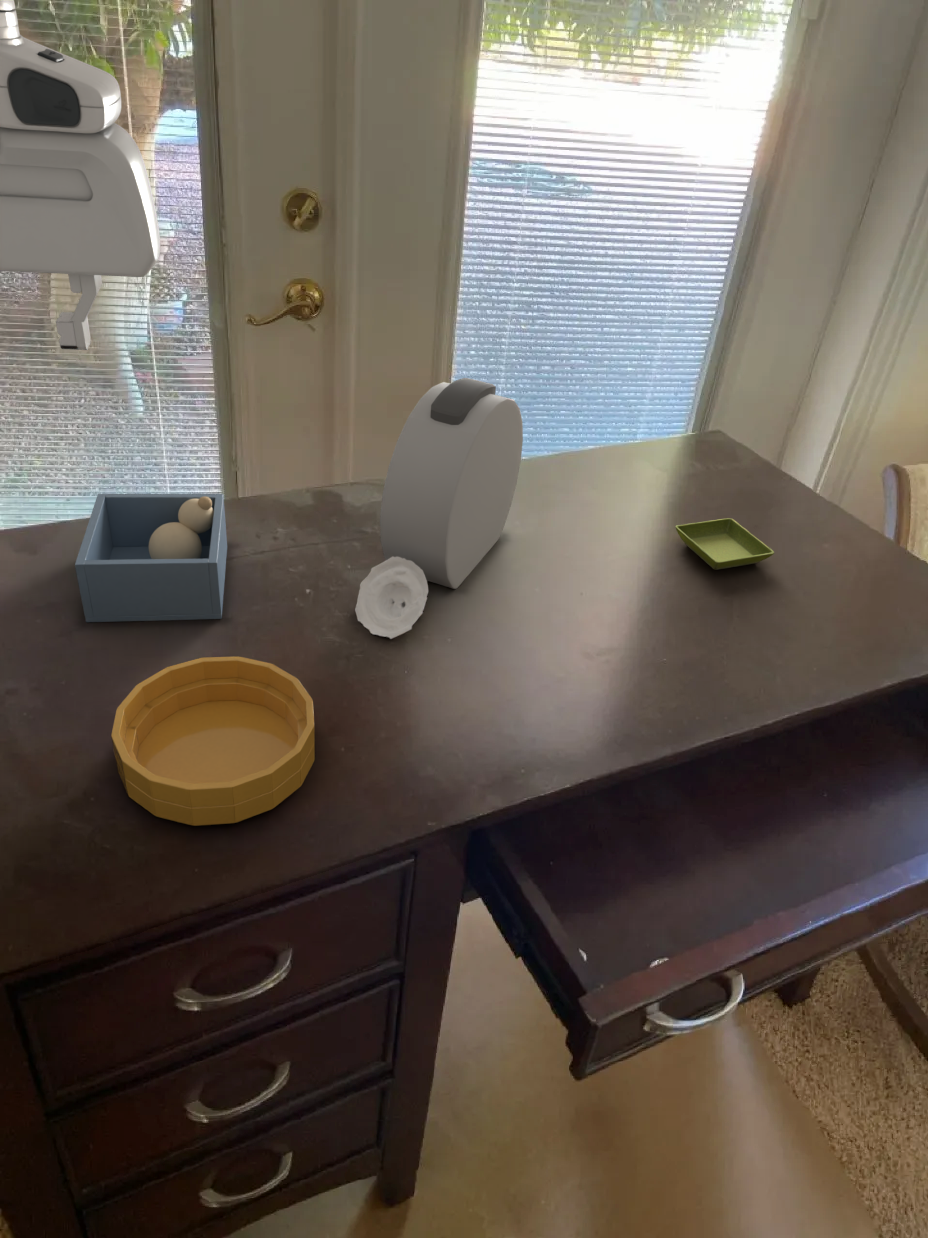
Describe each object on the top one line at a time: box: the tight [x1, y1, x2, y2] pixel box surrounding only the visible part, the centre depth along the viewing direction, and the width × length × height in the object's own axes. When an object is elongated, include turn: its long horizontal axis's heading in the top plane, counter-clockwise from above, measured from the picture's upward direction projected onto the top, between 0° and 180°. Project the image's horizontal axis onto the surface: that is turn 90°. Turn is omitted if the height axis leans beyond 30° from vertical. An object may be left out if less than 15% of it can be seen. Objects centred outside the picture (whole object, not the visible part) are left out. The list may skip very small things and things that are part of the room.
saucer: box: [674, 517, 775, 571], centre depth 106 cm, size 9×9×2 cm
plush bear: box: [149, 496, 214, 559], centre depth 91 cm, size 5×5×9 cm
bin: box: [74, 493, 228, 623], centre depth 90 cm, size 13×14×7 cm
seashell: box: [354, 557, 429, 640], centre depth 89 cm, size 8×5×8 cm
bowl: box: [110, 656, 316, 827], centre depth 71 cm, size 15×15×4 cm
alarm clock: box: [379, 377, 524, 590], centre depth 96 cm, size 21×8×20 cm, turn 156°
